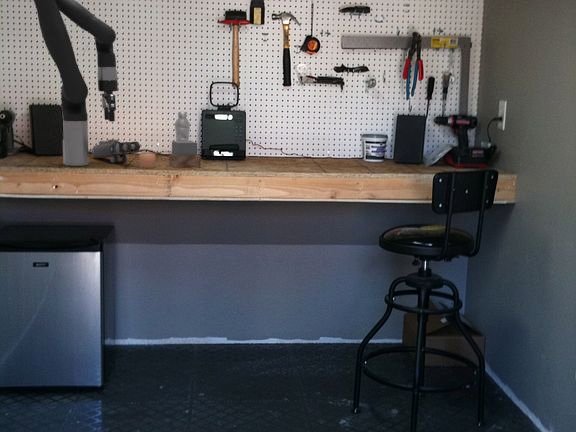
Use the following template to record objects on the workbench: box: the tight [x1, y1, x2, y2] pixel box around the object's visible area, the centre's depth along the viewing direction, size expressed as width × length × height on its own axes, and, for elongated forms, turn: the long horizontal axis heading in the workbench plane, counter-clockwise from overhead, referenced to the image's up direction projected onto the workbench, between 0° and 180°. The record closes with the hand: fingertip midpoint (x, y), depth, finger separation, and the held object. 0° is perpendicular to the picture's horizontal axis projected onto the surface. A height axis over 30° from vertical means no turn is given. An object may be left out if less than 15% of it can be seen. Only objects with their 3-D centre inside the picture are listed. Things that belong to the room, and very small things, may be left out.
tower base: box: [168, 152, 201, 169], centre depth 303 cm, size 10×10×5 cm
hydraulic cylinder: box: [91, 138, 142, 164], centre depth 310 cm, size 7×37×10 cm, turn 39°
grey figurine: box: [174, 111, 191, 141], centre depth 324 cm, size 6×7×20 cm
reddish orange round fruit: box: [139, 153, 156, 169], centre depth 297 cm, size 6×6×5 cm
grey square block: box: [171, 140, 198, 156], centre depth 302 cm, size 8×8×5 cm
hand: (109, 120), depth 301 cm, fingers open, 8 cm apart
